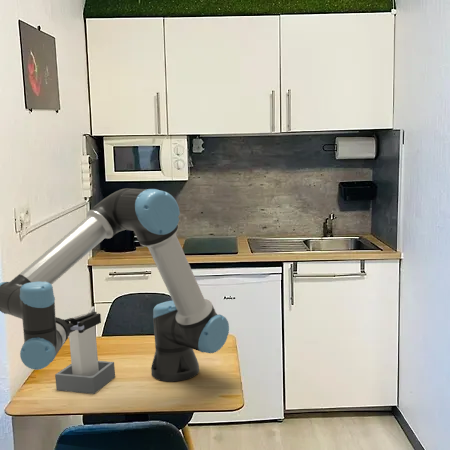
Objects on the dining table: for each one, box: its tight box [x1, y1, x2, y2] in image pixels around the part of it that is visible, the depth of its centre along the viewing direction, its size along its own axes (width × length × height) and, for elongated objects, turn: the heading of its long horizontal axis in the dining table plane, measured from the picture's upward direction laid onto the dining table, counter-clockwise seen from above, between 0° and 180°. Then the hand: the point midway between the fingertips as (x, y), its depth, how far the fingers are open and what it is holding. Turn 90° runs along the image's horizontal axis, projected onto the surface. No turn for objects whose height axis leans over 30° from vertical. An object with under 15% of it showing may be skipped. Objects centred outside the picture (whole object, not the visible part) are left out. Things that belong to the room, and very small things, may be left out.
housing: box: [54, 360, 116, 395], centre depth 193 cm, size 13×13×5 cm
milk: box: [68, 312, 99, 376], centre depth 191 cm, size 6×6×22 cm
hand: (70, 312), depth 179 cm, fingers open, 13 cm apart
